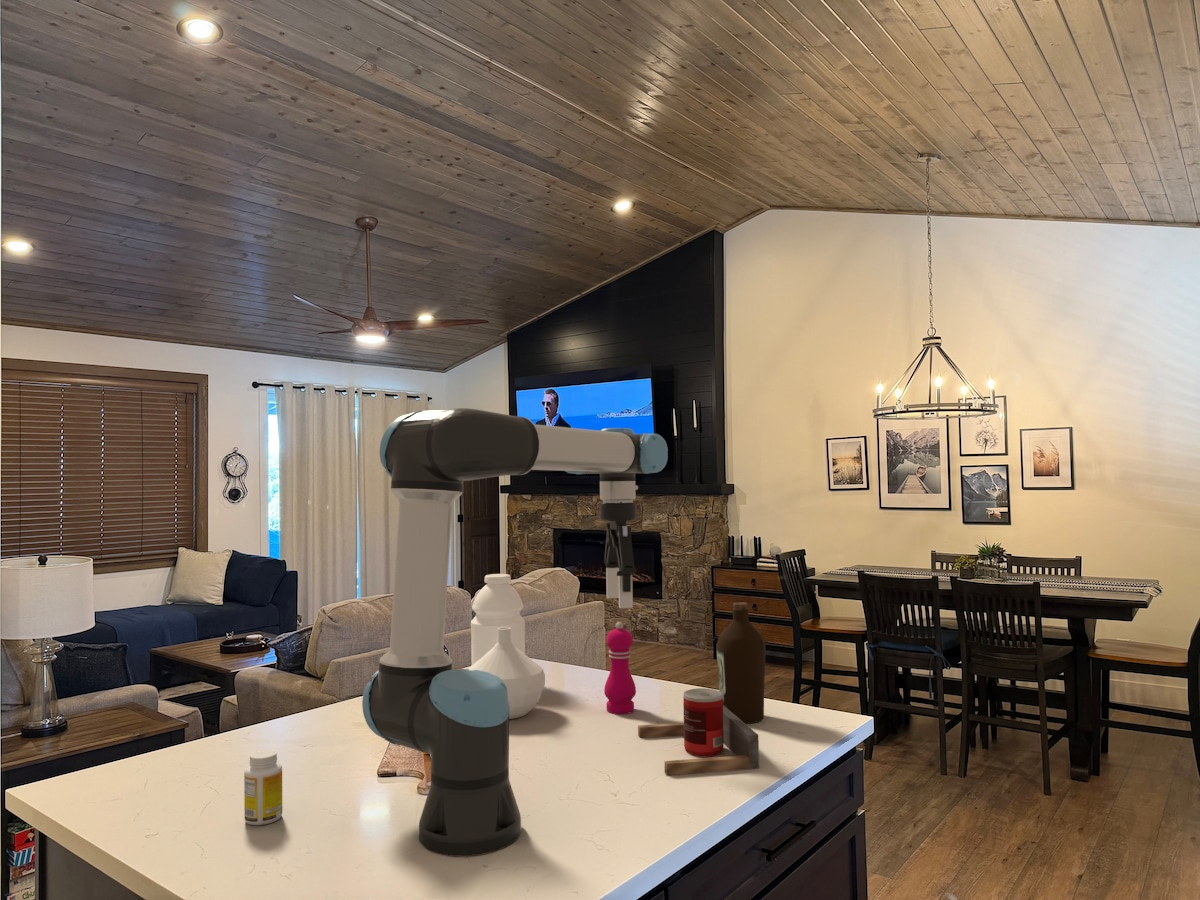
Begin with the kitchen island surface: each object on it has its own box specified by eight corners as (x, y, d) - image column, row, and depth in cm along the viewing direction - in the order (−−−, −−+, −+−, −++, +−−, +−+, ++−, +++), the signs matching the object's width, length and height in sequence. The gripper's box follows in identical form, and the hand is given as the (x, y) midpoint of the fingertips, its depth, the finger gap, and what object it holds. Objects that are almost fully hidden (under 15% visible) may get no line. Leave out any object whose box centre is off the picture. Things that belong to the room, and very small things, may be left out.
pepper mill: (600, 713, 187) (599, 624, 187) (609, 704, 193) (608, 618, 194) (631, 715, 184) (630, 625, 185) (639, 707, 191) (638, 619, 192)
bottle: (476, 694, 204) (475, 579, 205) (466, 680, 217) (465, 573, 218) (531, 688, 209) (530, 576, 209) (518, 676, 222) (518, 571, 223)
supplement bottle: (286, 811, 134) (286, 747, 134) (276, 825, 128) (276, 759, 129) (250, 813, 133) (250, 748, 134) (239, 827, 128) (239, 760, 128)
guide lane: (666, 775, 148) (666, 741, 148) (638, 735, 171) (637, 705, 171) (758, 768, 151) (758, 734, 151) (718, 729, 174) (718, 701, 174)
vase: (552, 703, 195) (552, 621, 196) (535, 727, 177) (534, 637, 177) (477, 701, 198) (476, 620, 198) (452, 724, 180) (452, 635, 180)
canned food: (722, 744, 165) (722, 688, 165) (724, 757, 157) (723, 699, 157) (684, 743, 166) (683, 687, 166) (684, 756, 158) (683, 698, 158)
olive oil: (765, 711, 187) (763, 599, 188) (768, 725, 177) (766, 607, 177) (717, 709, 188) (715, 599, 189) (717, 724, 178) (716, 606, 179)
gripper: (649, 503, 163) (650, 611, 163) (623, 499, 188) (624, 593, 187) (611, 503, 162) (612, 613, 161) (590, 499, 187) (591, 594, 186)
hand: (619, 602), depth 174 cm, fingers open, 13 cm apart
